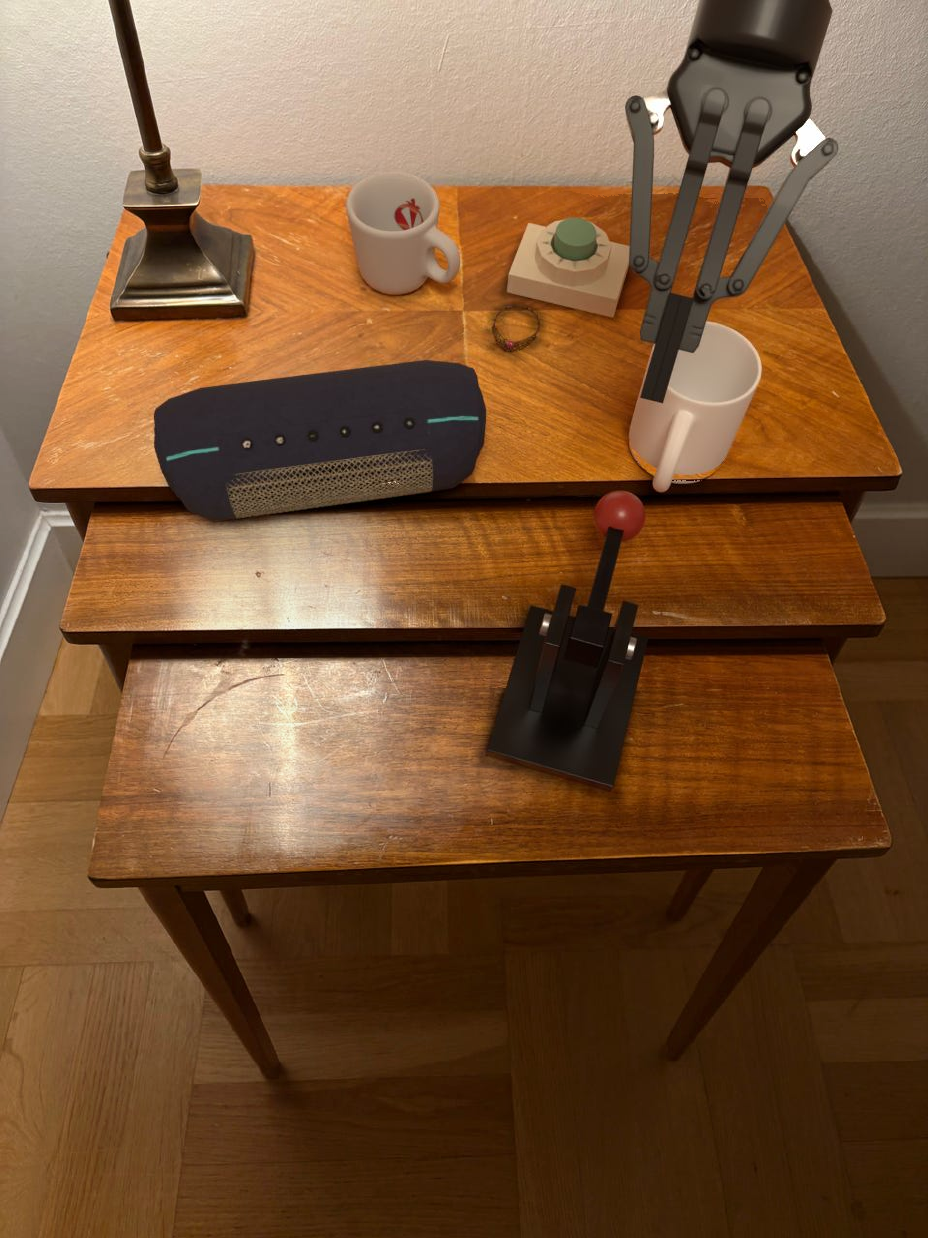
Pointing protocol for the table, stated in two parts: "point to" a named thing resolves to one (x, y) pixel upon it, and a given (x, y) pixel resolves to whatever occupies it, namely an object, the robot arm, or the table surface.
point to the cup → (398, 233)
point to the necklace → (509, 345)
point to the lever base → (568, 698)
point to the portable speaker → (321, 438)
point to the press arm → (604, 575)
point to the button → (575, 239)
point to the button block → (569, 272)
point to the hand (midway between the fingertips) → (651, 398)
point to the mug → (697, 407)
